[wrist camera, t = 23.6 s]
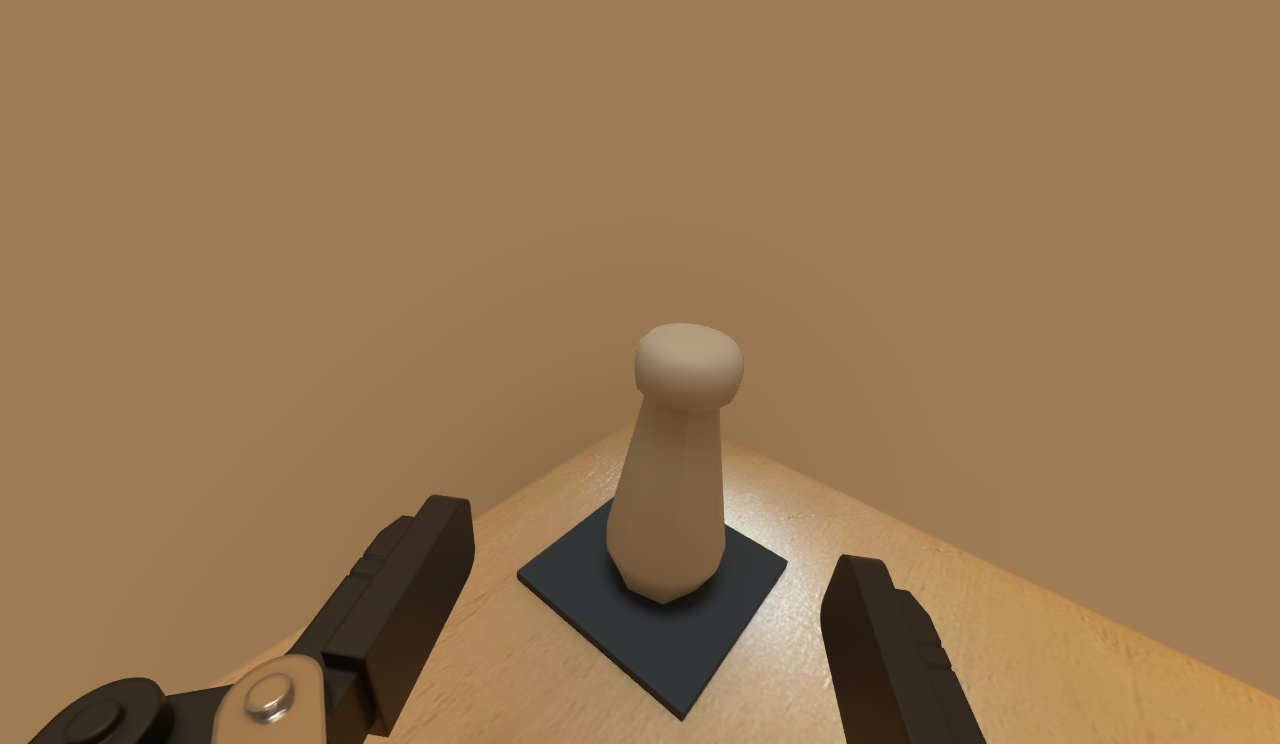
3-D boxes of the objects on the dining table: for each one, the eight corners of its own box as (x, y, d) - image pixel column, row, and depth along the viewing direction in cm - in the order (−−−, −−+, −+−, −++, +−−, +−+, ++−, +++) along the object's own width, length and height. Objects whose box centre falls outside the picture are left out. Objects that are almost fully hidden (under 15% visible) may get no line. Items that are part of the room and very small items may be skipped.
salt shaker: (720, 537, 27) (767, 320, 21) (714, 632, 22) (774, 383, 16) (617, 517, 28) (634, 301, 22) (589, 603, 23) (601, 355, 17)
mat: (681, 721, 20) (683, 714, 19) (516, 578, 25) (516, 571, 25) (786, 567, 27) (788, 560, 26) (640, 480, 32) (641, 474, 32)
